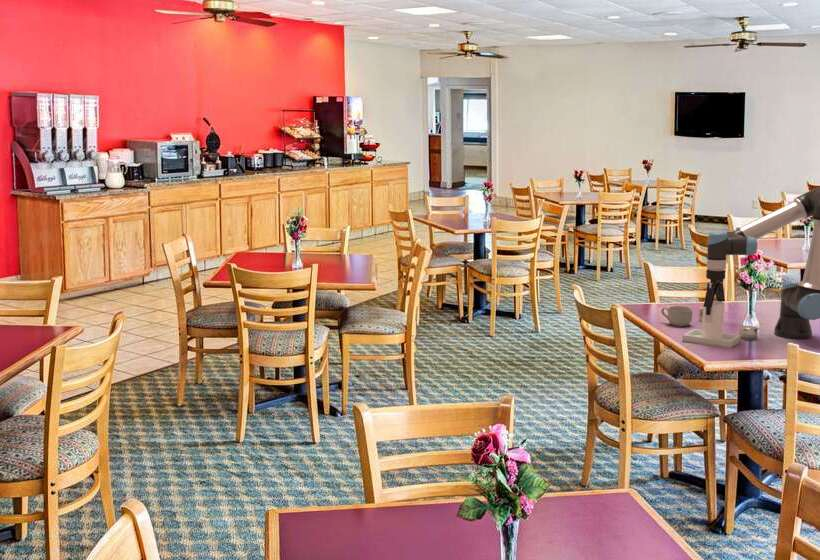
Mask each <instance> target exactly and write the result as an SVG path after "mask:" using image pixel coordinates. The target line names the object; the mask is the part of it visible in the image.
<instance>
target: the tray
mask: <svg viewBox="0 0 820 560" xmlns="http://www.w3.org/2000/svg"><path fill="white" fill-rule="evenodd" d="M701 335H702V329H696V328H692V329H691V330H689V331H687V332H686V333H683V334H682V342H683V343H689V344H696V345H705V346H709V347H710V346H711V347H717V348H718V347H719V348H724V349H732V348H734V347H736V345H738V344H740V343H741V341H742V339H741V335H740V334H734V333H733V334H732V333H725V332H722V340H719V339H712V338H705V337H701Z"/></svg>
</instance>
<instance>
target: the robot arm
mask: <svg viewBox="0 0 820 560" xmlns="http://www.w3.org/2000/svg"><path fill="white" fill-rule="evenodd" d="M810 217H811V221H812V222H813V225H814V226H813V231H812V233H811V234H812V235H811V239H810V240H811V241H810V244H809V249H808V254H807V259H806V263H805V267H804V273H803V277H802V280H801V281H800V282H784V283H783V284H782V286H781V289H780V291H781V292H780V294H781V295H780V308H779V317H778V320H777V321H776V325H775V326H774V332H773V333H774V335H776V336H778V337H782V338H786V339H798V340H800V339H802V340H803V339H804V340H805V339H811V338H812V335H813V330H812V325H811V323H810V321H815V320H820V186H819V187H816V188H813V189H811V190H809V191H807V192H805V193H803V194H801V195H799V196H797V197H794V198H793V201H792V202H790V203H787V204H786V205H784V206H781V207H780V208H778V209H776V210H773V211H772V212H770V213H768V214H766V215H764V216H762V217H759V218H757V219H755V220H754V221H751V222H749V223H748V224H745V225H743V226H741V227H739V228H737V229H735V230H733V231H711V232H709V233H708V237H707V257H706V260H705V263H706V273H705V274H706V275H705V277H706V279H707V280H710V282H707V283H706V285H707V286H706V292H705V298H704V301H705V302H704V301H703V303H704V305H703V304H702V307H706V310H705V322H707V323H712V313H713V307H712V304H713V301H715V300H716V301H720V302H725V301H726V298H725V289H724V280H726V268H727V256H752V255H755V254H756V252H757V251H758V241H757V240H758V239H760V238H763V237H765V236H766V235H768V234H770V233H771V234H772V233H773V232H775V231H777V230H780V229H781V228H783V227H785V226H788V225H790V224H791V223H794V222H795V221H796V222H797V220H801V219H805V220H806V219H807V218H810ZM715 298H716V299H715Z"/></svg>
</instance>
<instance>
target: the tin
mask: <svg viewBox="0 0 820 560" xmlns="http://www.w3.org/2000/svg"><path fill="white" fill-rule="evenodd" d="M758 330H759V328H758V327H757V326H754V325H740V327H739V335H741V340H742V339H743V341H748V340H754V341H757V340H758Z"/></svg>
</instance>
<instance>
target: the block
mask: <svg viewBox="0 0 820 560" xmlns="http://www.w3.org/2000/svg"><path fill="white" fill-rule="evenodd" d="M702 318H703V306H700V307H699V315H698V322H699V321H701V323H702Z"/></svg>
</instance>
